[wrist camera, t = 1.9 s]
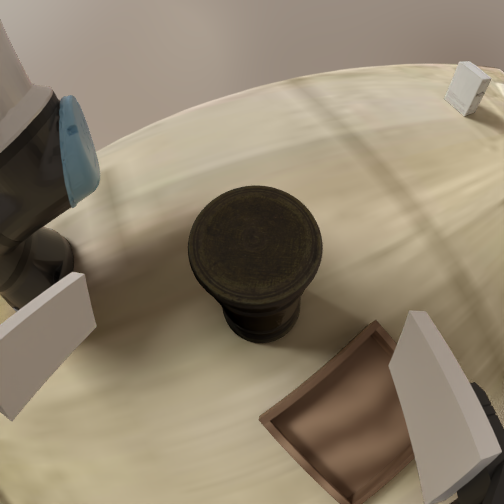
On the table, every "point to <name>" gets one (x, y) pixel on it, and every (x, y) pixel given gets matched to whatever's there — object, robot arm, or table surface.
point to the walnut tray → (347, 420)
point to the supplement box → (467, 88)
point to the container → (256, 258)
